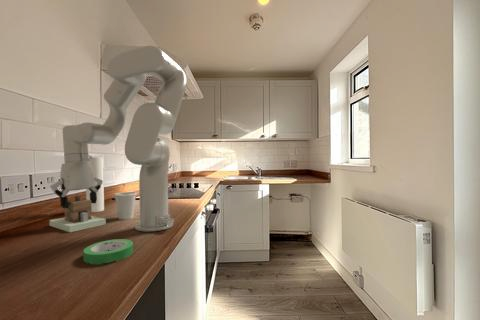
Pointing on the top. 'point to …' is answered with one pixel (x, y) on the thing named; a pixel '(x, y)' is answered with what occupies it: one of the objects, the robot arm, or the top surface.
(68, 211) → the walnut block
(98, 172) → the cylindrical container
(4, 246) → the top surface
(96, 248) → the tape roll
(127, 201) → the dixie cup
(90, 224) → the cleat board
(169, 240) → the top surface
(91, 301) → the top surface
